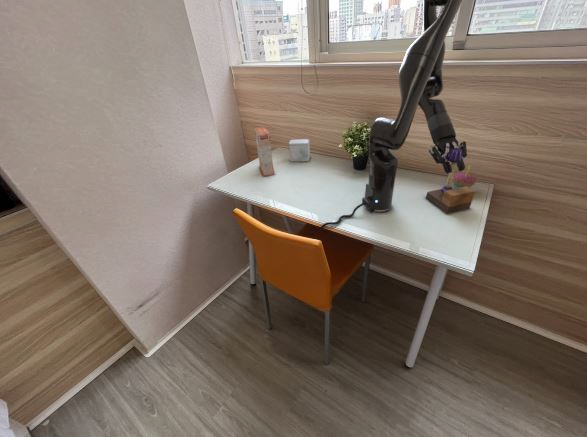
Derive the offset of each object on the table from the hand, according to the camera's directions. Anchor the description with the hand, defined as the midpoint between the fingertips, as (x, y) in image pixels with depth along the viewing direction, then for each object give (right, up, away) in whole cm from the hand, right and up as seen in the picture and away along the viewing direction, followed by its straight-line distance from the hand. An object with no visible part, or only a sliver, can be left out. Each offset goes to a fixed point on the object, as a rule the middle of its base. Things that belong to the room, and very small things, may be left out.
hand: (455, 171), depth 97 cm
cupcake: (+11, -5, +15) cm, 19 cm away
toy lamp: (0, -7, +7) cm, 9 cm away
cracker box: (-72, +8, +46) cm, 86 cm away
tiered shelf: (+1, -11, +7) cm, 13 cm away
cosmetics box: (-54, +16, +55) cm, 79 cm away
